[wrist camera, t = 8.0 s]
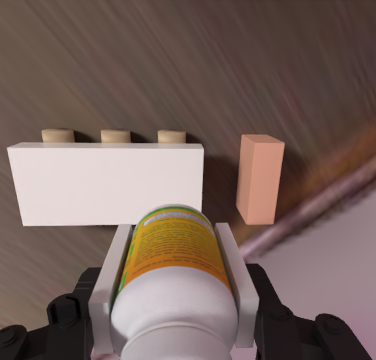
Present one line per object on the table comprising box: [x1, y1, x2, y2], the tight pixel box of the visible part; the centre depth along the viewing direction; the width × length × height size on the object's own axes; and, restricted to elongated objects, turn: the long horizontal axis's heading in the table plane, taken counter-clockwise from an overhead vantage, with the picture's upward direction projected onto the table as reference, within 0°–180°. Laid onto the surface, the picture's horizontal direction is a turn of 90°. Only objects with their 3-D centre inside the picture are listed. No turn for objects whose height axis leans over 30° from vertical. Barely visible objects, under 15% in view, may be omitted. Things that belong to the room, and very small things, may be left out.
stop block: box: [236, 135, 285, 225], centre depth 30 cm, size 3×9×5 cm, turn 179°
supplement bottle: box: [110, 204, 238, 360], centre depth 13 cm, size 5×5×10 cm
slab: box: [7, 143, 204, 226], centre depth 27 cm, size 18×8×2 cm, turn 89°
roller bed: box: [42, 128, 186, 144], centre depth 30 cm, size 15×10×3 cm, turn 89°
